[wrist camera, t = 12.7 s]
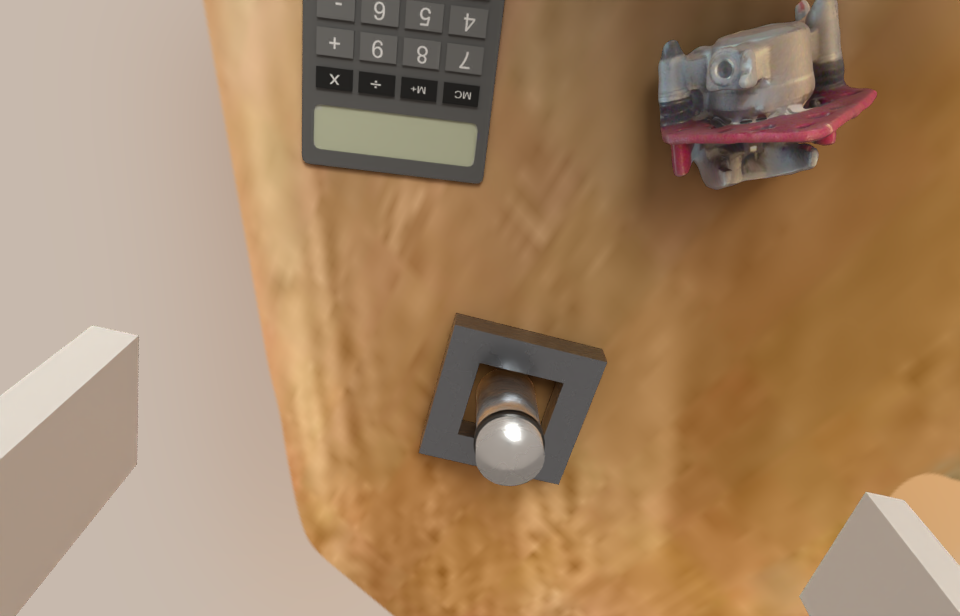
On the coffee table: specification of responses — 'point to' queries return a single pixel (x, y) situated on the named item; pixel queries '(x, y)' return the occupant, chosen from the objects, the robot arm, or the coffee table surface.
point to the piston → (508, 428)
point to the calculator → (400, 85)
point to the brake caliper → (757, 98)
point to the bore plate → (520, 353)
